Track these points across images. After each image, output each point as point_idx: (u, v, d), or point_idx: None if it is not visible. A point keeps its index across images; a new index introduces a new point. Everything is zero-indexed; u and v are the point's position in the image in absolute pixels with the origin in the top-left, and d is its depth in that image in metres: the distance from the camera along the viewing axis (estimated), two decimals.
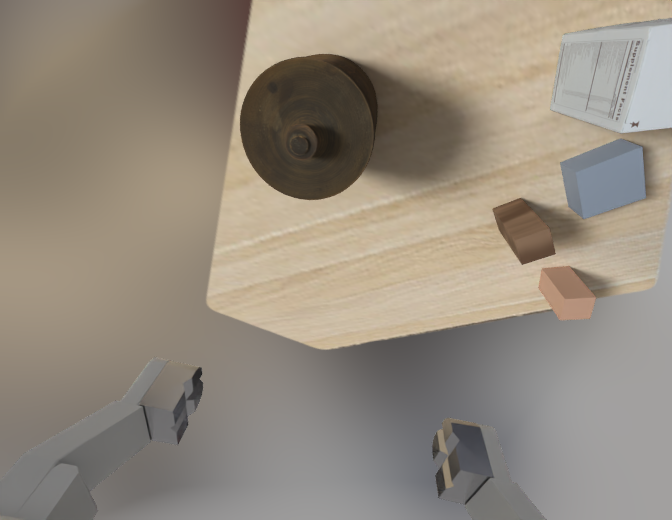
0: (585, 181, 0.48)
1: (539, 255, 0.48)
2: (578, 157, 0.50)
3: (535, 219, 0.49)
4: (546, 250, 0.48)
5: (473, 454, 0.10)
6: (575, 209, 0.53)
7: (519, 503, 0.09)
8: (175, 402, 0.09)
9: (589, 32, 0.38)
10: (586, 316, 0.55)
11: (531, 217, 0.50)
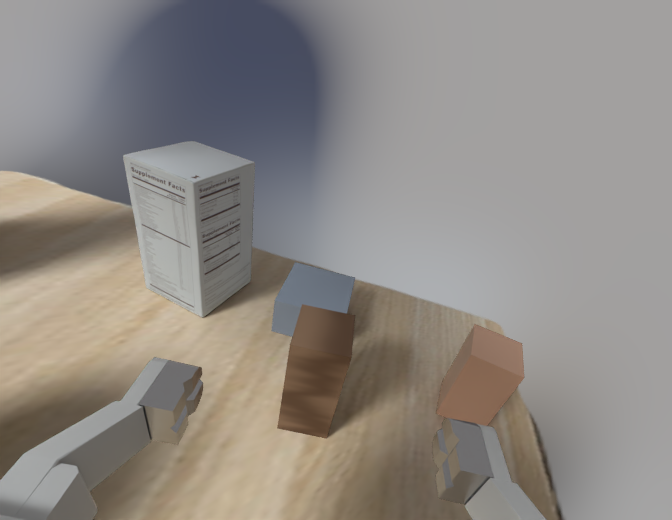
0: (294, 298, 0.38)
1: (345, 330, 0.26)
2: None
3: None
4: (341, 321, 0.27)
5: (473, 454, 0.10)
6: None
7: (519, 502, 0.09)
8: (175, 402, 0.09)
9: None
10: (517, 345, 0.32)
11: None
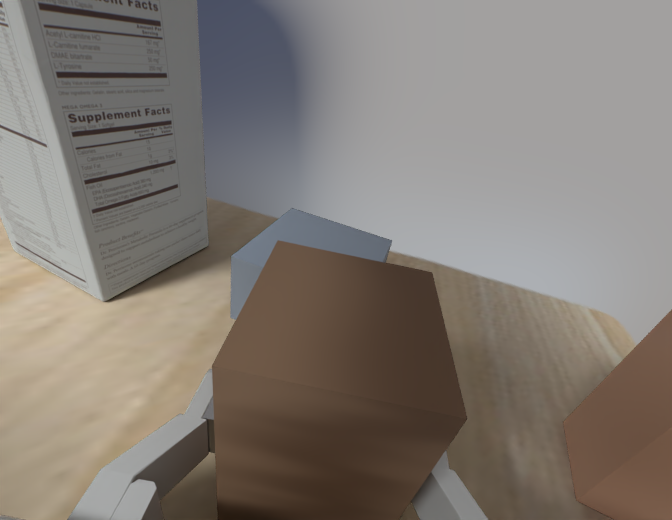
0: None
1: (415, 314, 0.08)
2: None
3: None
4: (396, 286, 0.09)
5: None
6: None
7: (453, 489, 0.09)
8: None
9: None
10: None
11: None
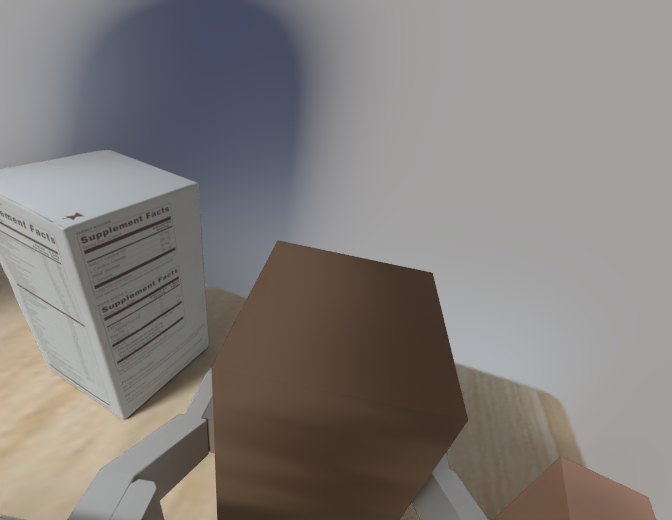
0: None
1: (415, 314, 0.08)
2: None
3: None
4: (396, 286, 0.09)
5: None
6: None
7: (453, 489, 0.09)
8: None
9: (21, 309, 0.25)
10: (642, 503, 0.18)
11: None
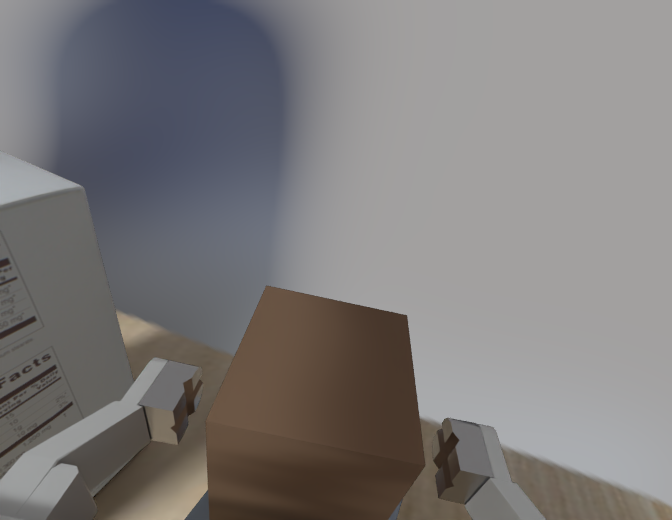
0: None
1: (387, 360, 0.09)
2: None
3: None
4: (373, 331, 0.10)
5: (473, 454, 0.10)
6: None
7: (519, 502, 0.09)
8: (175, 402, 0.09)
9: None
10: None
11: None
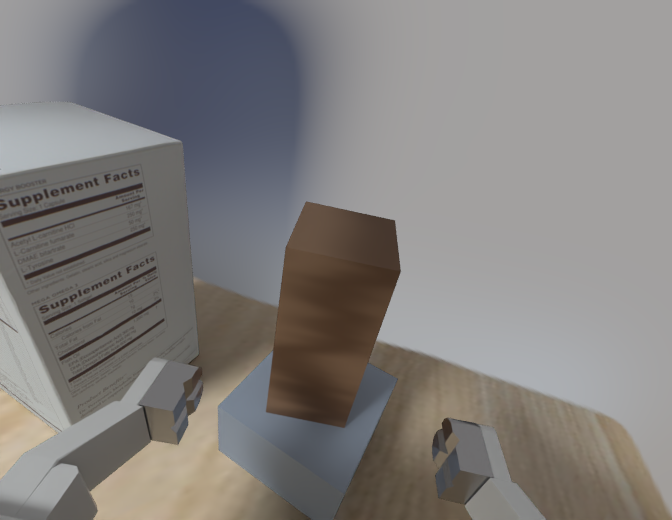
0: (257, 410, 0.19)
1: (382, 236, 0.15)
2: None
3: None
4: (373, 225, 0.16)
5: (473, 454, 0.10)
6: (326, 508, 0.18)
7: (519, 503, 0.09)
8: (175, 402, 0.09)
9: None
10: None
11: None
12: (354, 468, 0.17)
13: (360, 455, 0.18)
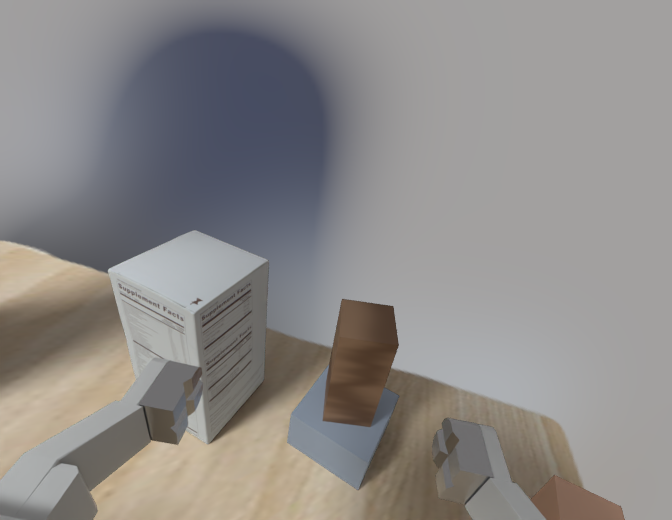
0: (314, 416, 0.31)
1: (387, 321, 0.27)
2: None
3: (336, 331, 0.30)
4: (381, 312, 0.28)
5: (473, 454, 0.10)
6: (357, 474, 0.30)
7: (519, 502, 0.09)
8: (175, 402, 0.09)
9: None
10: (616, 511, 0.24)
11: (334, 339, 0.31)
12: (373, 449, 0.30)
13: (377, 442, 0.30)
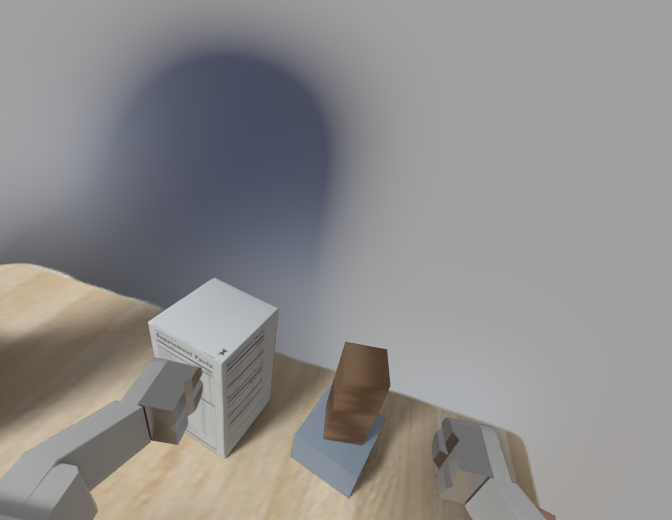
0: (313, 437, 0.38)
1: (381, 363, 0.34)
2: None
3: (338, 366, 0.37)
4: (377, 355, 0.35)
5: (473, 454, 0.10)
6: (348, 486, 0.36)
7: (519, 502, 0.09)
8: (175, 402, 0.09)
9: None
10: (550, 519, 0.31)
11: (337, 373, 0.37)
12: (362, 467, 0.36)
13: (365, 460, 0.37)
